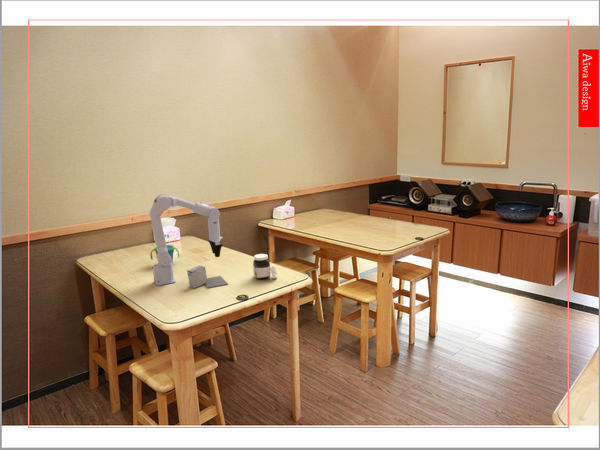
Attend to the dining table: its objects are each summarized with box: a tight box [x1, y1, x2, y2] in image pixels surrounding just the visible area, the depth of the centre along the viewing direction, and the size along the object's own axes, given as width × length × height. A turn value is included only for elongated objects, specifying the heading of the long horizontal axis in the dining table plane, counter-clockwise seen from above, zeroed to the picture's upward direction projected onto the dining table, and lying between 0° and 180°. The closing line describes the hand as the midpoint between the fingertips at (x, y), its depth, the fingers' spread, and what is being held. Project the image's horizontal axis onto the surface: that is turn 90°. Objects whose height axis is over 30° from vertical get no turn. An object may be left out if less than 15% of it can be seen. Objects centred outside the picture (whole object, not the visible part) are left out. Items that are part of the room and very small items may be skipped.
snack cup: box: [150, 244, 180, 264], centre depth 252 cm, size 16×10×10 cm
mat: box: [204, 275, 229, 289], centre depth 222 cm, size 10×13×1 cm
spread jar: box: [252, 253, 279, 281], centre depth 225 cm, size 12×11×12 cm
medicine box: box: [186, 265, 208, 289], centre depth 217 cm, size 8×4×9 cm, turn 141°
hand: (216, 255), depth 233 cm, fingers open, 7 cm apart
